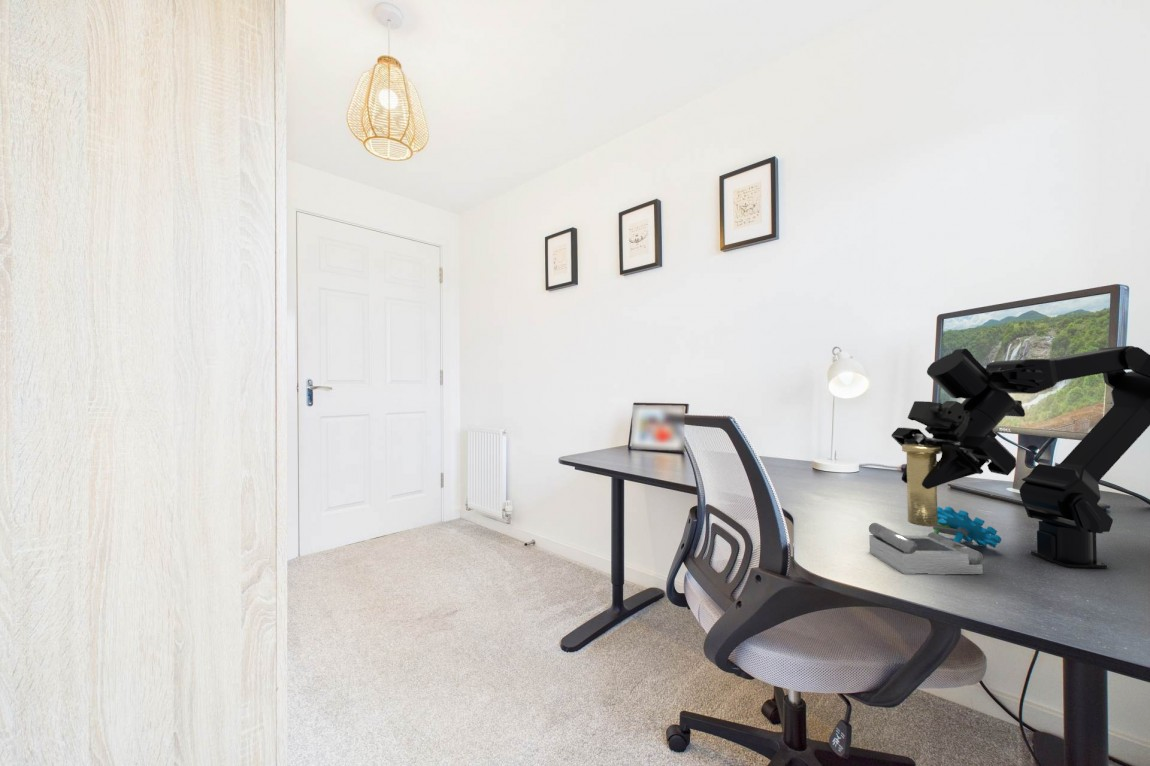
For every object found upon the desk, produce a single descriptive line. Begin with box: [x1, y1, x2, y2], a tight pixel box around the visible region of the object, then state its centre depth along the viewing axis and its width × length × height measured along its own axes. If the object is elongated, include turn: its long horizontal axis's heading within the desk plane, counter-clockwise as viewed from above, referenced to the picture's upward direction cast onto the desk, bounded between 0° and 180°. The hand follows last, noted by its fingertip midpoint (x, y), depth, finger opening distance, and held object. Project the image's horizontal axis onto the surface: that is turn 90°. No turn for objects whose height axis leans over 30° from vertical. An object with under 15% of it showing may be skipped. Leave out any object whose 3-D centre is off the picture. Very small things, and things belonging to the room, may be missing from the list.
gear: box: [932, 506, 1002, 548], centre depth 83 cm, size 11×6×10 cm
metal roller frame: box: [868, 522, 984, 575], centre depth 75 cm, size 12×9×5 cm
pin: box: [901, 444, 942, 528], centre depth 75 cm, size 5×5×13 cm
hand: (913, 484), depth 75 cm, fingers closed on pin, 4 cm apart
